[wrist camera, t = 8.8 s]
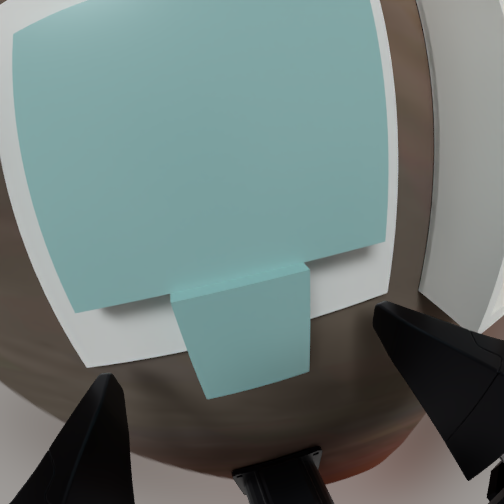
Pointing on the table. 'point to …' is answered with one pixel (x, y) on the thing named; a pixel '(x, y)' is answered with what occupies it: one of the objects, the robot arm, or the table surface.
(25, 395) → the table surface
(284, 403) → the table surface
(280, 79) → the lid
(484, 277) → the tub
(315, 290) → the mat
